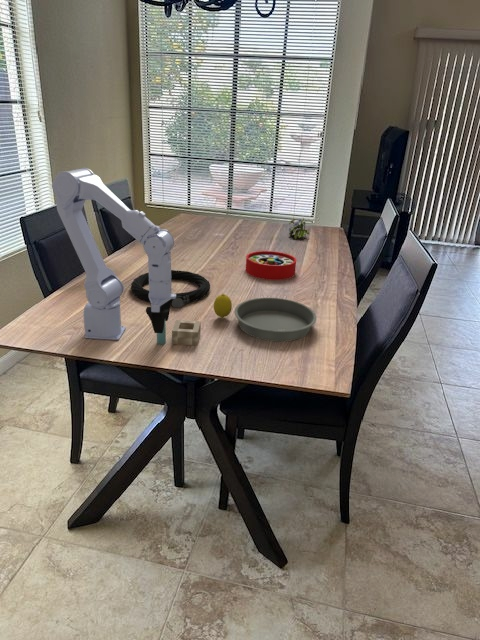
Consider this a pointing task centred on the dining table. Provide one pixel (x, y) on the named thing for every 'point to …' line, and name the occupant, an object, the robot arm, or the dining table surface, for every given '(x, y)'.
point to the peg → (162, 336)
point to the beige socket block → (186, 332)
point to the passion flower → (298, 225)
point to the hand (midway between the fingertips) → (161, 326)
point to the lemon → (222, 305)
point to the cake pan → (275, 318)
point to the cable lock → (180, 297)
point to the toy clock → (270, 265)
